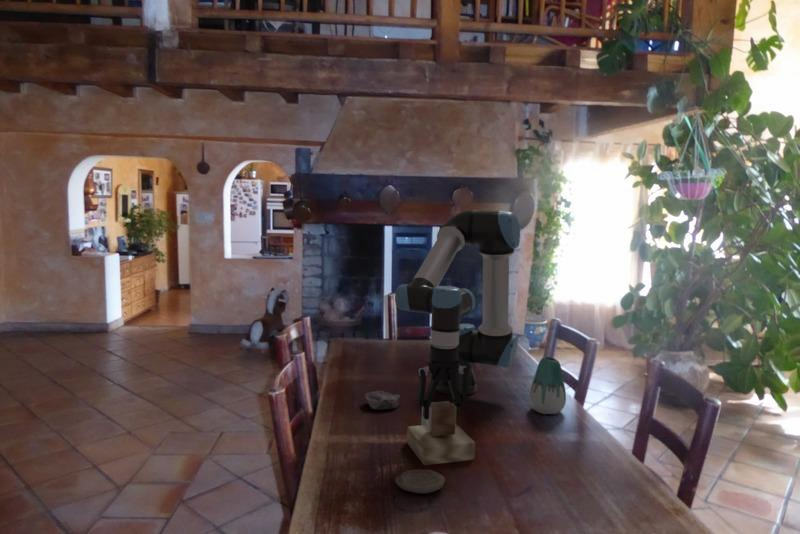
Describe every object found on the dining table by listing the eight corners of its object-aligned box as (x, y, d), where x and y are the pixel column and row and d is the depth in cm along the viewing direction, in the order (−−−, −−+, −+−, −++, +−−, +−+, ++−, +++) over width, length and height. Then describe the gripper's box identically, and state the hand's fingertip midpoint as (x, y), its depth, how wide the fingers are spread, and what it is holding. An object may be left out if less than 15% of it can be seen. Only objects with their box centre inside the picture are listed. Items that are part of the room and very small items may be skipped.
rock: (403, 410, 186) (403, 396, 185) (368, 412, 183) (368, 398, 182) (397, 401, 194) (397, 388, 193) (363, 403, 191) (363, 390, 190)
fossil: (398, 479, 142) (398, 467, 142) (445, 481, 141) (445, 469, 140) (392, 496, 132) (392, 484, 131) (443, 499, 130) (443, 487, 130)
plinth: (453, 439, 165) (454, 422, 165) (474, 460, 152) (475, 442, 151) (406, 443, 161) (407, 426, 160) (424, 466, 148) (424, 447, 147)
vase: (567, 409, 192) (571, 356, 189) (561, 420, 181) (565, 364, 179) (532, 402, 196) (535, 351, 194) (524, 413, 186) (528, 359, 184)
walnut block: (447, 425, 159) (448, 401, 158) (454, 434, 153) (456, 409, 153) (426, 427, 158) (427, 402, 157) (433, 436, 152) (434, 410, 151)
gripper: (472, 340, 159) (468, 422, 162) (405, 342, 154) (402, 426, 157) (483, 347, 152) (478, 432, 154) (413, 350, 147) (410, 437, 150)
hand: (440, 429), depth 156 cm, fingers closed on walnut block, 6 cm apart
